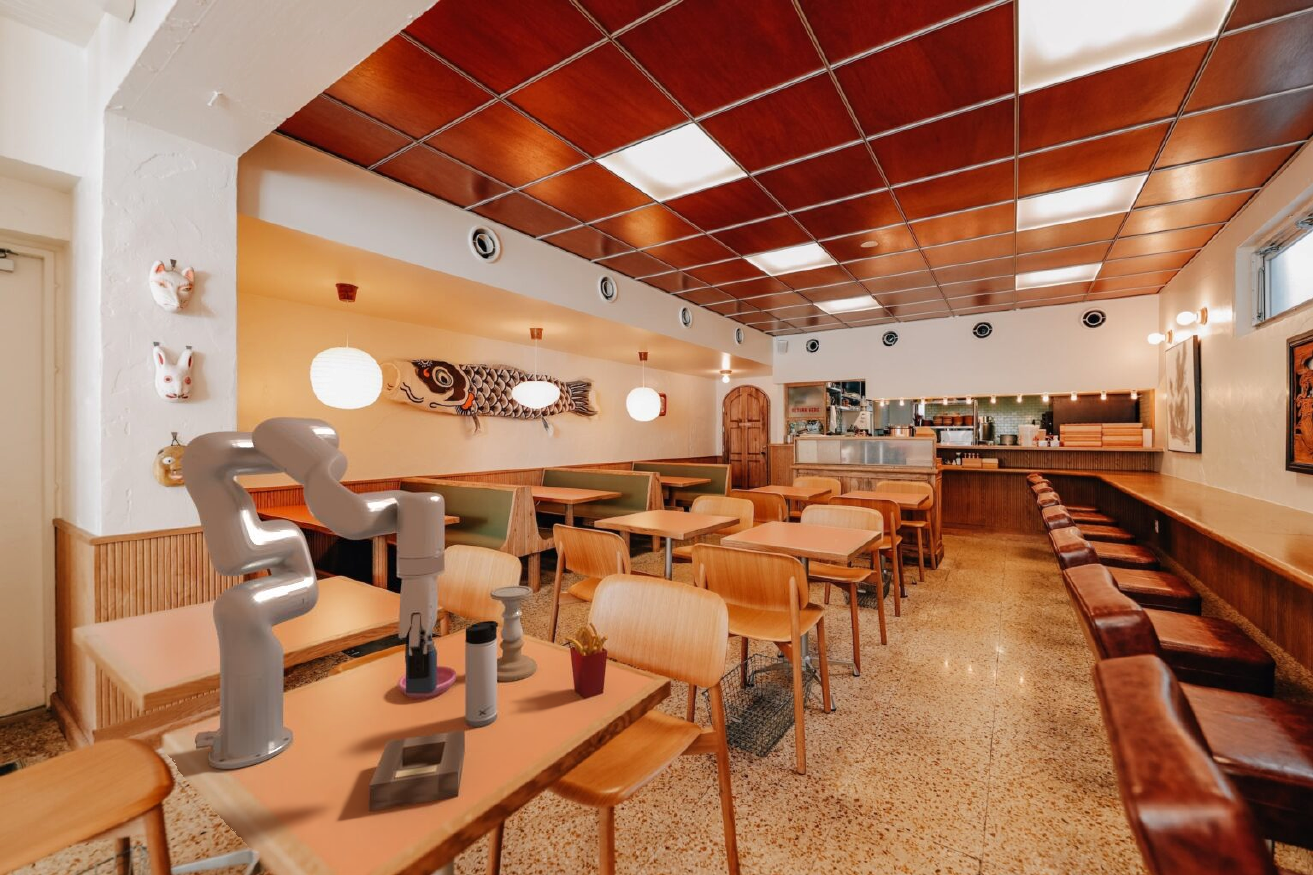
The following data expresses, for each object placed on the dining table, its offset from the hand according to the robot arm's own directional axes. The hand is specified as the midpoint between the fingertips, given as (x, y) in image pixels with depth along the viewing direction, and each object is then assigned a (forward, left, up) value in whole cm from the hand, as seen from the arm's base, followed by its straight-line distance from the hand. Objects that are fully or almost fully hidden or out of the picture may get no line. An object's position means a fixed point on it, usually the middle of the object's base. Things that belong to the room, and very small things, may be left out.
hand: (421, 671), depth 92 cm
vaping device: (0, 0, -3) cm, 3 cm away
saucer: (-4, +36, -19) cm, 41 cm away
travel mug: (+9, +18, -18) cm, 27 cm away
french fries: (+31, +25, -18) cm, 44 cm away
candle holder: (+15, +41, -18) cm, 47 cm away
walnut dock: (0, 0, -18) cm, 18 cm away
